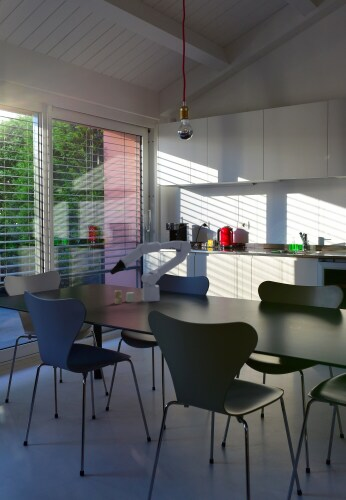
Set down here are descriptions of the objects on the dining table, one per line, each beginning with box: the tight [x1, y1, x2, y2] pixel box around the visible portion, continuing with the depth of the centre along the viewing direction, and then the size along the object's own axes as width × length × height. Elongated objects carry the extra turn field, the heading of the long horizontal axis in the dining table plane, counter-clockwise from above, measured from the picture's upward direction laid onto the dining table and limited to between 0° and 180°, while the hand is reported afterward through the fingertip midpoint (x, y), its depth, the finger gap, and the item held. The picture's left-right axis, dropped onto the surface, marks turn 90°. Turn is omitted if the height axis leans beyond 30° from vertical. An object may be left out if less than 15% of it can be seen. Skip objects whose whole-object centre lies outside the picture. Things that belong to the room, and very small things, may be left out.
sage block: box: [125, 291, 136, 303], centre depth 298 cm, size 4×4×5 cm
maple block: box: [114, 289, 123, 305], centre depth 292 cm, size 4×4×7 cm
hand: (111, 272), depth 290 cm, fingers open, 7 cm apart
